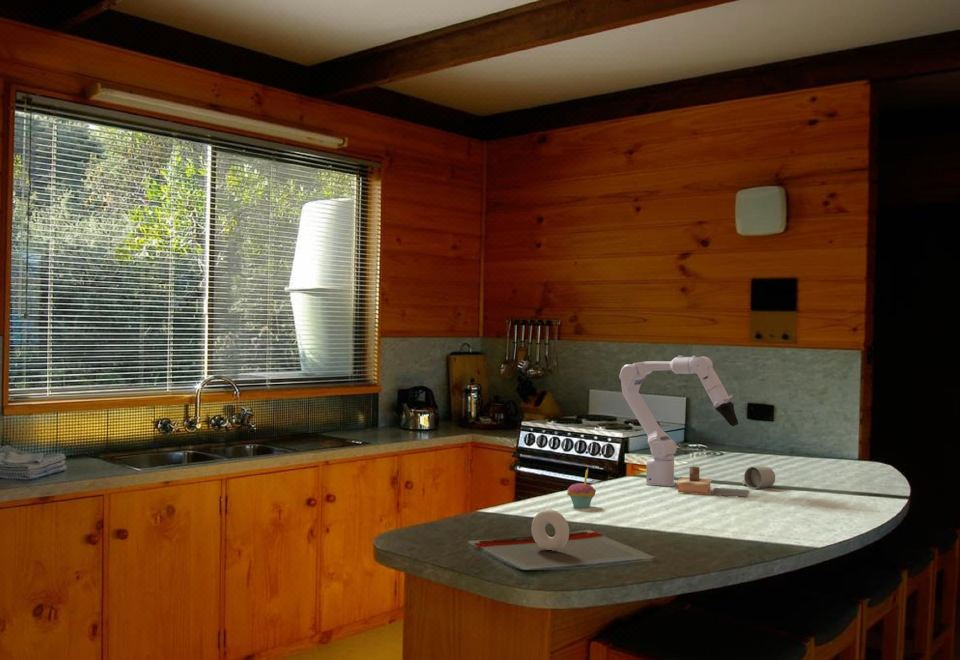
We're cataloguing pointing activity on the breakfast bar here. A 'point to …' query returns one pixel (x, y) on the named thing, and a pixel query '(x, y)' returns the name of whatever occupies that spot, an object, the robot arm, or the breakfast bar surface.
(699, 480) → the lid
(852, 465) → the breakfast bar surface
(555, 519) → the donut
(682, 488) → the dish
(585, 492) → the cupcake
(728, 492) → the mat
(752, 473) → the ceramic mug
